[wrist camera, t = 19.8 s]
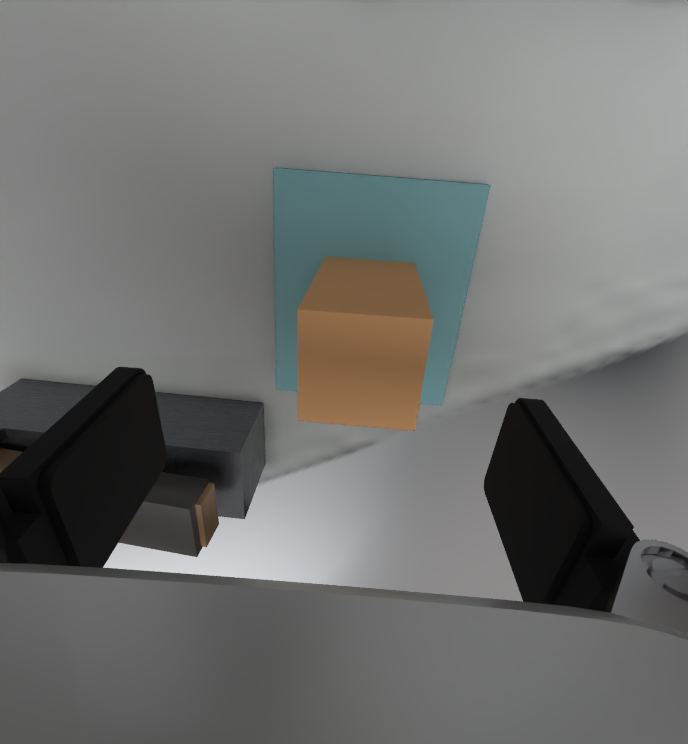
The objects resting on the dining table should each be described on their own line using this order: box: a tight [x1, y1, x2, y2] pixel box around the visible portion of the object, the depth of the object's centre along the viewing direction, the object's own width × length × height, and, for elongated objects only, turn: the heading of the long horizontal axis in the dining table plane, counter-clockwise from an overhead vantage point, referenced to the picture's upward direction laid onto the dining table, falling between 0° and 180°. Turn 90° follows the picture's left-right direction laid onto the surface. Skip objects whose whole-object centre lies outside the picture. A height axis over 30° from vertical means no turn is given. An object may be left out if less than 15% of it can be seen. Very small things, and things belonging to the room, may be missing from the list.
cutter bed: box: [0, 379, 265, 519], centre depth 24 cm, size 5×16×8 cm, turn 86°
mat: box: [273, 168, 490, 406], centre depth 22 cm, size 12×10×1 cm
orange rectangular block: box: [297, 257, 434, 431], centre depth 18 cm, size 4×4×8 cm
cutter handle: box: [0, 448, 219, 557], centre depth 21 cm, size 3×14×2 cm, turn 86°
